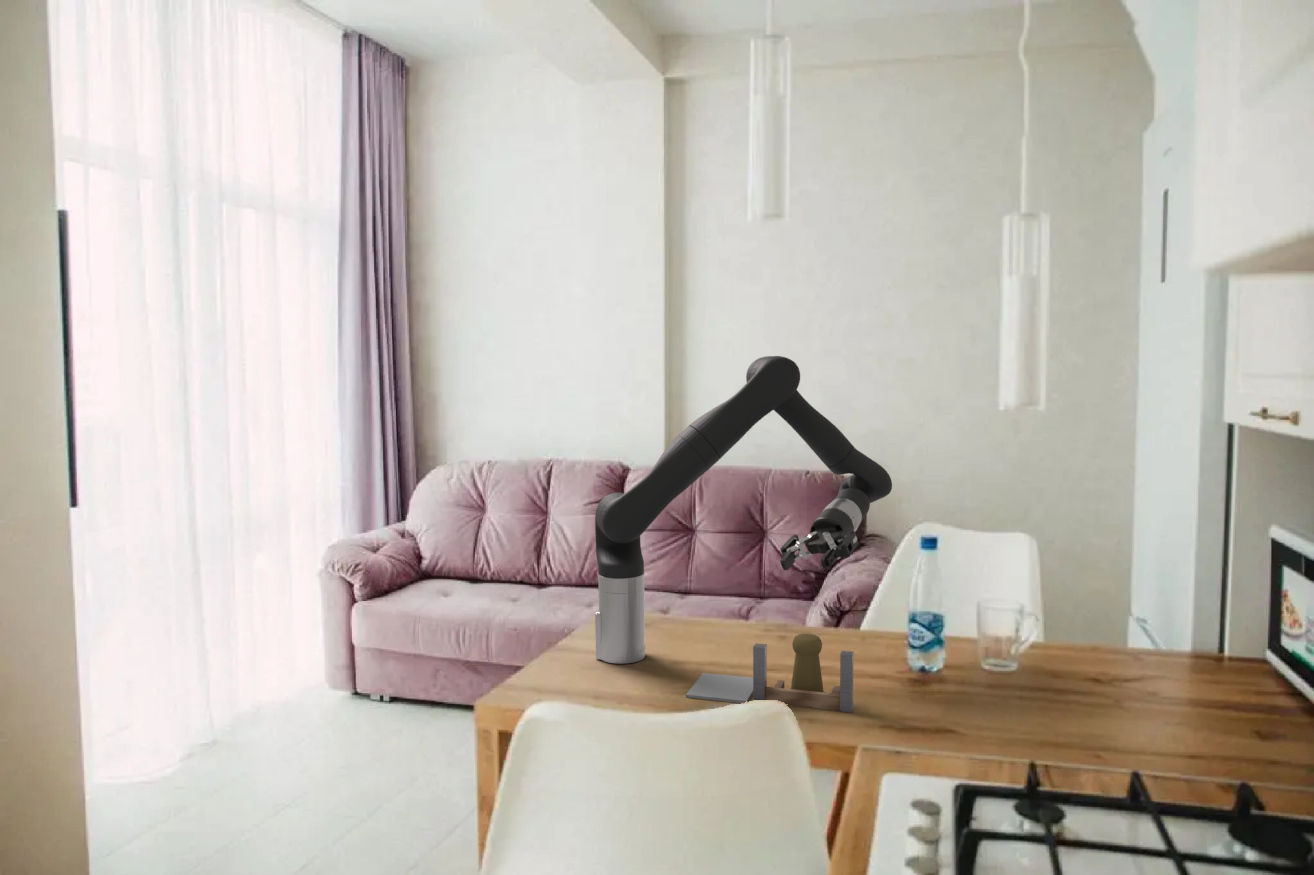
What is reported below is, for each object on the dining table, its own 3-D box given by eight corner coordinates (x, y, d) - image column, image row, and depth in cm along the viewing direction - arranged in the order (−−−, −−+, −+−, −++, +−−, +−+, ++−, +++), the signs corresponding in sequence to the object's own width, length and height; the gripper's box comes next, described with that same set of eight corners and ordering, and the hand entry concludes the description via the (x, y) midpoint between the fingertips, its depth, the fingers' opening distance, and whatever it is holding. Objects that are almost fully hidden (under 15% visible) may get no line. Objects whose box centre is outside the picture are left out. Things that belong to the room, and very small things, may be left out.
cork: (822, 689, 169) (823, 630, 168) (825, 702, 163) (825, 640, 162) (789, 688, 169) (789, 629, 169) (790, 701, 163) (790, 640, 163)
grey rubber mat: (686, 697, 166) (685, 694, 166) (703, 675, 177) (703, 672, 177) (746, 703, 162) (746, 700, 162) (760, 680, 174) (760, 678, 174)
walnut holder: (753, 702, 163) (753, 646, 162) (762, 685, 171) (762, 632, 170) (851, 712, 158) (852, 655, 157) (856, 695, 166) (857, 640, 165)
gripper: (800, 509, 189) (764, 549, 177) (864, 504, 180) (831, 546, 168) (811, 541, 191) (776, 583, 179) (875, 538, 182) (843, 582, 170)
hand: (803, 565), depth 173 cm, fingers open, 8 cm apart
